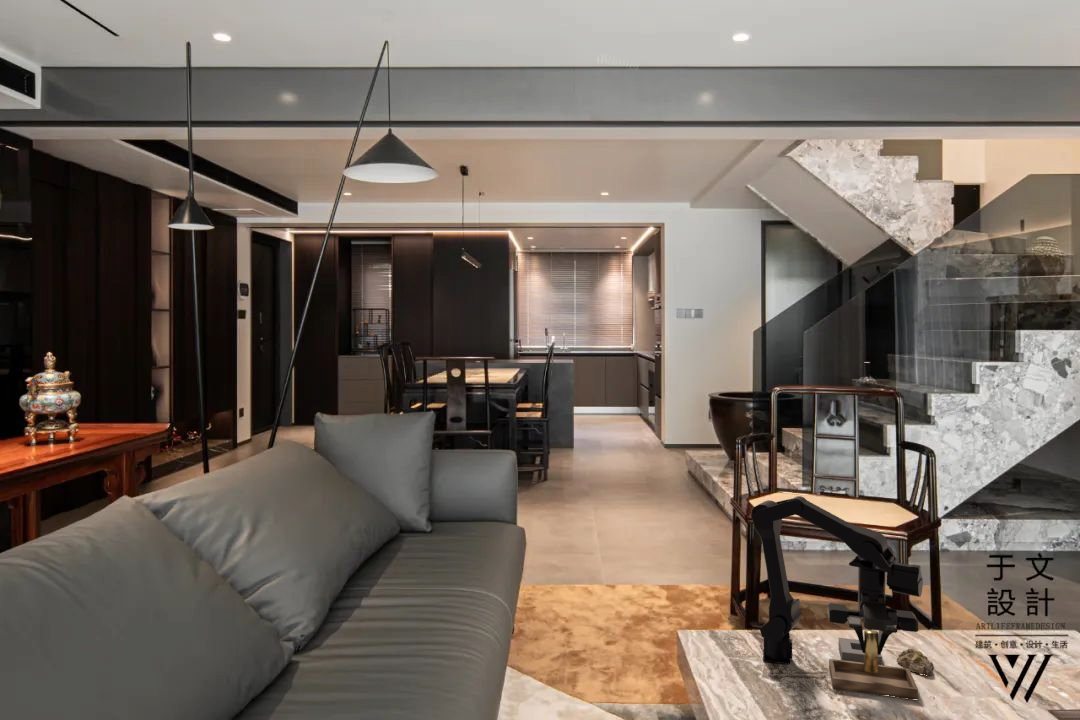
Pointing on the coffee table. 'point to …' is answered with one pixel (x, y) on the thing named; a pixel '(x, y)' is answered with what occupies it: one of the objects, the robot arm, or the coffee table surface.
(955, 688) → the coffee table surface
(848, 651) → the block
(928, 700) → the coffee table surface
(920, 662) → the mineral rock
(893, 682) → the walnut tray
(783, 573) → the robot arm
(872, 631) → the brass pin
